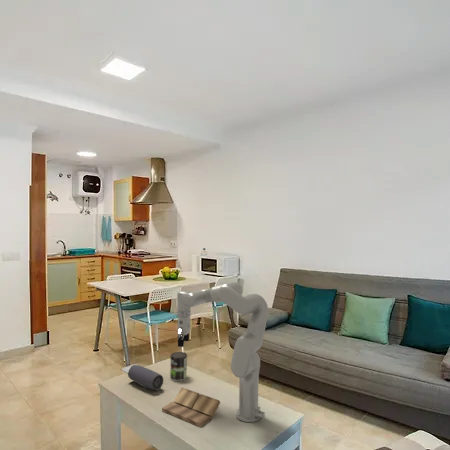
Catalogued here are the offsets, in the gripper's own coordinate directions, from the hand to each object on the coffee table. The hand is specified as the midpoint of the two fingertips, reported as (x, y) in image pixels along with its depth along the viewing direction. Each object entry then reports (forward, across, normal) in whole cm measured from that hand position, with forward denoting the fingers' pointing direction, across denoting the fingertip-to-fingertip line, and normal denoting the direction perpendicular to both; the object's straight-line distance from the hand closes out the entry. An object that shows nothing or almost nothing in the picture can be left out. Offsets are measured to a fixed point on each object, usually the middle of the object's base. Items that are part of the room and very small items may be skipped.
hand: (183, 343), depth 196 cm
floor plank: (+28, -21, -8) cm, 36 cm away
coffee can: (+28, +20, +9) cm, 36 cm away
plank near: (+25, -16, -18) cm, 35 cm away
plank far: (+25, -11, -6) cm, 28 cm away
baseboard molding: (+29, +19, +34) cm, 48 cm away
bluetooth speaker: (+28, +5, +24) cm, 38 cm away
